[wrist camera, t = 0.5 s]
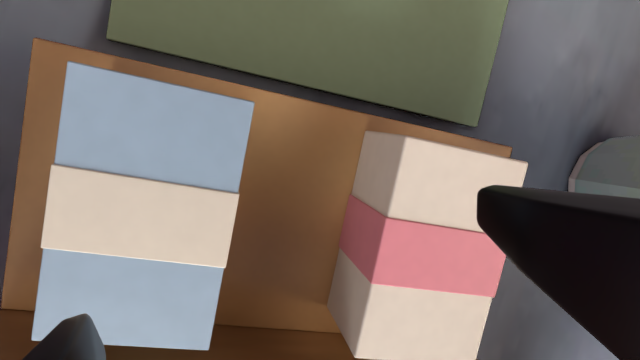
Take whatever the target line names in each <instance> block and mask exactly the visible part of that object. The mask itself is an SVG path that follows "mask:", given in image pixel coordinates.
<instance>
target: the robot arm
mask: <svg viewBox="0 0 640 360" xmlns="http://www.w3.org/2000/svg"><path fill="white" fill-rule="evenodd" d="M476 218H477V223H478V225H479V227H480V228H481V229H482V230H483V231H484V232H485V233H486V235H487V236H488V237H489V238H490V239H491V240H492V241H493V242H494V243H495V244H496V245H497V246H498V247H499V249H500V250H501V251H502V252H503V253H504V254H505V255H506V256H507V257H508V258H509V259H510V260H511V261H512V263H513V264H514V265H515V266H516V267H517V268H518V269H519V270H520V271H521V272H522V273H523V274H525V275H526V276H527V277H528V278H529V279H530V280H531V281H532V282H533V283H534V284H536V285H537V286H538V287H539V288H540V289H541V290H542V291H543V292H545V293H546V294H547V295H548V296H549V297H550V298H551V299H552V300H553V301H555V302H556V303H557V304H558V305H559V306H560V307H561V308H562V309H564V310H565V311H566V312H567V313H568V314H569V315H570V316H571V317H572V318H574V319H575V320H576V321H577V322H578V323H579V324H580V325H581V326H583V327H584V328H585V329H586V330H587V331H588V332H589V333H590V334H591V335H593V336H594V337H595V338H596V339H597V340H598V341H599V342H600V343H602V344H603V345H604V346H605V347H606V348H607V349H608V350H609V351H610V352H612V353H613V354H614V355H615V356H616V357H617V358H618V359H619V360H640V199H639V198H629V197H618V196H608V195H598V194H587V193H577V192H566V191H556V190H545V189H535V188H525V187H514V186H504V185H491V186H487V187H484V188H481V189H480V190H479V191H478V193H477V215H476ZM22 360H106V352H105V348H104V345H103V342H102V340H101V338H100V336H99V334H98V331H97V329H96V327H95V325H94V323H93V320H92V318H91V317H90V316H89V315H88V314H86V313H83V314H80V315H76V316H73V317H70V318H67V319H64V320H62V321H61V322H60V323H59V324H58V325H57V326H56V327H55V328H54V329H53V330H52V331H51V332H50V333H49V334H48V335H47V336H46V337H45V338H44V339H43V340H42V341H41V342H39V343H38V344H37V345H36V346H35V347H34V348H33V349H32V350H31V351H30V352H29V353H28V354H27V355H26V356H25V357H24V358H23V359H22Z"/></svg>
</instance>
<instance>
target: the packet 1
mask: <svg viewBox="0 0 640 360" xmlns="http://www.w3.org/2000/svg"><path fill="white" fill-rule="evenodd" d="M254 105H255V103H254V102H253V101H249V100H245V99H240V98H236V97H231V96H227V95H222V94H218V93H213V92H209V91H204V90H199V89H195V88H190V87H186V86H181V85H177V84H172V83H168V82H163V81H159V80H154V79H150V78H145V77H141V76H136V75H132V74H127V73H123V72H118V71H113V70H109V69H104V68H100V67H95V66H91V65H86V64H82V63H77V62H73V61H68V62H67V69H66V76H65V84H64V92H63V99H62V107H61V114H60V122H59V130H58V137H57V145H56V153H55V160H54V164H52V165H51V169H50V177H49V184H48V192H47V200H46V207H45V215H44V223H43V230H42V238H41V246H40V247H41V248H43V252H42V260H41V267H40V275H39V283H38V290H37V298H36V306H35V313H34V321H33V329H32V336H31V340H32V341H42V340H43V339H44V338H45V337H46V336H47V335H48V334H49V333H50V332H51V331H52V330H53V329H54V328H55V327H56V326H57V325H58V324H59V323H60V322H61V321H62V320H64V319H67V318H70V317H73V316H76V315H80V314H83V313H86V314H88V315H89V316H90V317H91V318H92V320H93V323H94V325H95V327H96V329H97V331H98V334H99V336H100V338H101V340H102V342H103V345H120V346H138V347H156V348H173V349H191V350H209V347H210V341H211V336H212V330H213V325H214V320H215V314H216V309H217V304H218V298H219V293H220V287H221V282H222V277H223V271H224V268H226V265H227V259H228V254H229V249H230V243H231V238H232V233H233V227H234V222H235V217H236V211H237V206H238V200H239V185H240V180H241V175H242V169H243V164H244V158H245V153H246V148H247V142H248V137H249V132H250V126H251V121H252V115H253V110H254Z"/></svg>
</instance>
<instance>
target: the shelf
mask: <svg viewBox="0 0 640 360" xmlns="http://www.w3.org/2000/svg"><path fill="white" fill-rule="evenodd" d="M68 61H73V62H77V63H82V64H86V65H91V66H95V67H100V68H104V69H109V70H113V71H118V72H123V73H127V74H132V75H136V76H141V77H145V78H150V79H154V80H159V81H163V82H168V83H172V84H177V85H181V86H186V87H190V88H195V89H199V90H204V91H209V92H213V93H218V94H222V95H227V96H231V97H236V98H240V99H245V100H249V101H253V102H254V103H255V105H254V110H253V115H252V121H251V126H250V132H249V137H248V142H247V148H246V153H245V158H244V164H243V169H242V175H241V180H240V185H239V200H238V206H237V211H236V217H235V222H234V227H233V233H232V238H231V243H230V249H229V254H228V259H227V265H226V268H224V271H223V277H222V282H221V287H220V293H219V298H218V304H217V309H216V314H215V320H214V325H213V330H212V336H211V341H210V347H209V350H191V349H173V348H156V347H138V346H120V345H104V348H105V352H106V360H379V359H361V358H355V357H354V356H353V354H352V352H351V350H350V348H349V346H348V344H347V343H346V341H345V339H344V337H343V335H342V333H341V331H340V330H339V328H338V326H337V324H336V322H335V320H334V319H333V317H332V315H331V313H330V311H329V309H328V307H327V303H328V298H329V294H330V289H331V285H332V280H333V275H334V271H335V266H336V262H337V257H338V253H339V248H340V247H339V246H338V245H339V240H340V236H341V231H342V227H343V222H344V218H345V213H346V208H347V204H348V199H349V195H350V194H351V193H352V189H353V184H354V180H355V175H356V171H357V166H358V162H359V157H360V152H361V148H362V143H363V139H364V134H365V131H375V132H383V133H391V134H399V135H407V136H412V137H416V138H421V139H425V140H430V141H435V142H439V143H444V144H448V145H453V146H457V147H462V148H466V149H471V150H475V151H480V152H484V153H489V154H493V155H498V156H502V157H507V158H510V156H511V152H512V147H510V146H505V145H501V144H497V143H492V142H488V141H484V140H479V139H475V138H471V137H466V136H462V135H457V134H453V133H449V132H444V131H440V130H436V129H431V128H427V127H423V126H418V125H414V124H410V123H405V122H401V121H397V120H392V119H388V118H384V117H379V116H375V115H371V114H366V113H362V112H358V111H353V110H349V109H344V108H340V107H336V106H331V105H327V104H323V103H318V102H314V101H310V100H305V99H301V98H297V97H292V96H288V95H284V94H279V93H275V92H271V91H266V90H262V89H258V88H253V87H249V86H245V85H240V84H236V83H232V82H227V81H223V80H218V79H214V78H210V77H205V76H201V75H197V74H192V73H188V72H184V71H179V70H175V69H171V68H166V67H162V66H158V65H153V64H149V63H145V62H140V61H136V60H132V59H127V58H123V57H119V56H114V55H110V54H105V53H101V52H97V51H92V50H88V49H84V48H79V47H75V46H71V45H66V44H62V43H58V42H53V41H49V40H45V39H40V38H33V43H32V52H31V60H30V68H29V77H28V85H27V93H26V102H25V110H24V118H23V126H22V135H21V143H20V151H19V160H18V168H17V176H16V185H15V193H14V201H13V210H12V218H11V226H10V235H9V243H8V251H7V260H6V268H5V276H4V284H3V293H2V301H1V308H2V309H1V310H0V360H22V359H23V358H24V357H25V356H26V355H27V354H28V353H29V352H30V351H31V350H32V349H33V348H34V347H35V346H36V345H37V344H38V343H39V342H41V341H32V340H31V336H32V329H33V321H34V313H35V306H36V298H37V290H38V283H39V275H40V267H41V260H42V252H43V248H41V247H40V246H41V238H42V230H43V223H44V215H45V207H46V200H47V192H48V184H49V177H50V169H51V165H52V164H54V160H55V153H56V145H57V137H58V130H59V122H60V114H61V107H62V99H63V92H64V84H65V76H66V69H67V62H68ZM476 360H478V359H477V358H476Z"/></svg>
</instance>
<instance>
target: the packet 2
mask: <svg viewBox="0 0 640 360" xmlns="http://www.w3.org/2000/svg"><path fill="white" fill-rule="evenodd" d="M527 167H528V163H527V162H525V161H521V160H516V159H511V158H507V157H502V156H498V155H493V154H489V153H484V152H480V151H475V150H471V149H466V148H462V147H457V146H453V145H448V144H444V143H439V142H435V141H430V140H425V139H421V138H416V137H412V136H407V135H399V134H391V133H383V132H375V131H365V134H364V139H363V143H362V148H361V152H360V157H359V162H358V166H357V171H356V175H355V180H354V184H353V189H352V193H351V194H350V195H349V199H348V204H347V208H346V213H345V218H344V222H343V227H342V231H341V236H340V240H339V245H338V246H339V247H340V248H339V253H338V257H337V262H336V266H335V271H334V275H333V280H332V285H331V289H330V294H329V298H328V303H327V307H328V309H329V311H330V313H331V315H332V317H333V319H334V320H335V322H336V324H337V326H338V328H339V330H340V331H341V333H342V335H343V337H344V339H345V341H346V343H347V344H348V346H349V348H350V350H351V352H352V354H353V356H354V357H355V358H361V359H379V360H476V356H477V353H478V349H479V345H480V342H481V338H482V334H483V330H484V327H485V323H486V319H487V316H488V312H489V308H490V304H491V301H492V297H495V295H496V291H497V288H498V284H499V280H500V277H501V273H502V269H503V265H504V262H505V258H506V255H505V254H504V253H503V252H502V251H501V250H500V249H499V247H498V246H497V245H496V244H495V243H494V242H493V241H492V240H491V239H490V238H489V237H488V236H487V235H486V233H485V232H484V231H483V230H482V229H481V228H480V227H479V225H478V223H477V218H476V215H477V193H478V191H479V190H480V189H481V188H484V187H487V186H491V185H504V186H514V187H522V185H523V182H524V178H525V174H526V171H527Z"/></svg>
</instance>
